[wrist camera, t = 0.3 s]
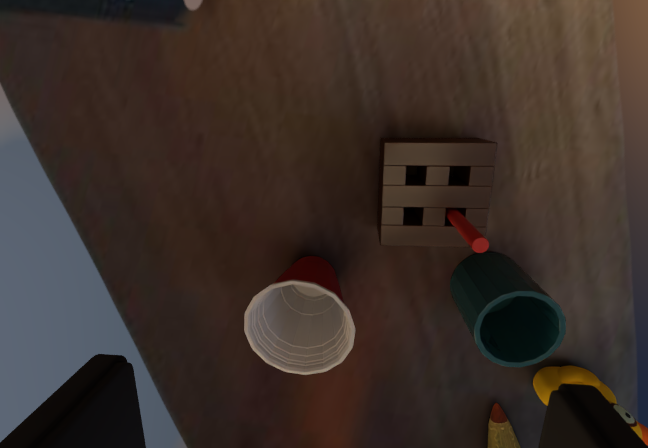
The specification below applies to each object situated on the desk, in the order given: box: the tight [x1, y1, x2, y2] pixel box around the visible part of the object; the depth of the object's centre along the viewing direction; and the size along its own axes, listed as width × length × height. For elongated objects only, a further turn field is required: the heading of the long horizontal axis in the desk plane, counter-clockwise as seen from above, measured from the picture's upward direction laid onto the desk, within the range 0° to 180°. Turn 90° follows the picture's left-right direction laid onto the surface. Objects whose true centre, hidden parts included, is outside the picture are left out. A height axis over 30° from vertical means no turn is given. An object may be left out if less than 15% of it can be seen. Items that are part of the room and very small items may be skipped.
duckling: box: [533, 365, 648, 446], centre depth 43 cm, size 11×5×10 cm, turn 74°
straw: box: [445, 208, 489, 253], centre depth 36 cm, size 1×1×14 cm
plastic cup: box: [244, 256, 355, 375], centre depth 41 cm, size 11×11×12 cm
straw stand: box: [377, 138, 497, 247], centre depth 40 cm, size 10×10×6 cm
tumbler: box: [450, 252, 566, 367], centre depth 41 cm, size 8×8×10 cm
